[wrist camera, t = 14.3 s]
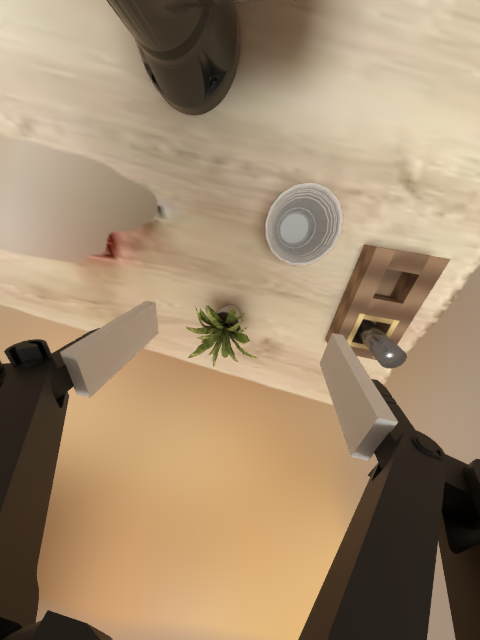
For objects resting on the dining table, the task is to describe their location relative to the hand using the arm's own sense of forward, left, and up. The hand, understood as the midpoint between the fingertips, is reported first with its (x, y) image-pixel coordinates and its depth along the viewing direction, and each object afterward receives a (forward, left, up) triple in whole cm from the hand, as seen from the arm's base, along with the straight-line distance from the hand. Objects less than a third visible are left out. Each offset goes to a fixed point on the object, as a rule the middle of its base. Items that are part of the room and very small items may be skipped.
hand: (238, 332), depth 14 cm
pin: (+9, +25, -30) cm, 40 cm away
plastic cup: (-8, +5, -31) cm, 33 cm away
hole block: (+4, +25, -31) cm, 40 cm away
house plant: (+13, -4, -31) cm, 34 cm away
